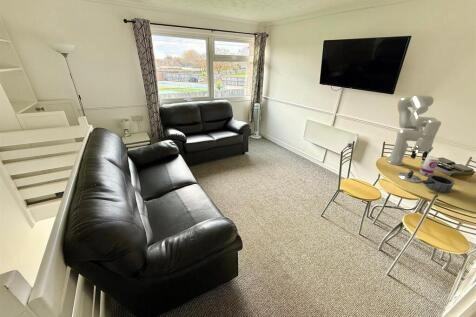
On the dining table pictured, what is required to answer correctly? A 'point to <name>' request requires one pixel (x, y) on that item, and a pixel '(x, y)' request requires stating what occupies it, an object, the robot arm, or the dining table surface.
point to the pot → (438, 183)
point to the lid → (409, 177)
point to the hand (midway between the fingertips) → (418, 157)
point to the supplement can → (429, 165)
